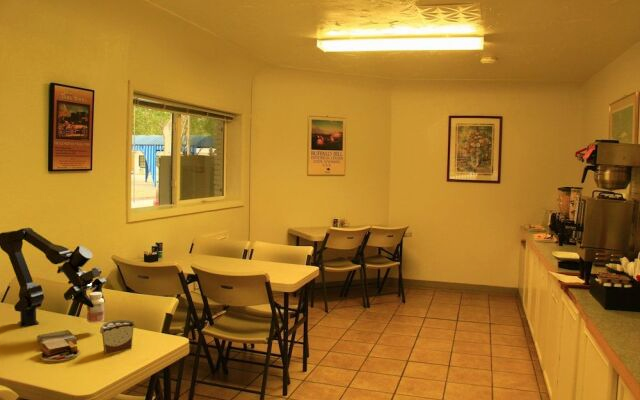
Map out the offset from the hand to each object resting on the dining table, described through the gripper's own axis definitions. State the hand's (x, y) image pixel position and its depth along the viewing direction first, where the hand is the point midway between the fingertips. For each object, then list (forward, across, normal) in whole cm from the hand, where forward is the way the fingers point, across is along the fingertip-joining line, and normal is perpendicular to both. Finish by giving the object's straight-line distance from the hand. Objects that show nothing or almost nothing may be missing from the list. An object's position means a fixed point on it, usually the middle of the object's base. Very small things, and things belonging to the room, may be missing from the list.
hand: (98, 304), depth 205 cm
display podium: (+3, -14, +13) cm, 20 cm away
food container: (+20, -14, -4) cm, 25 cm away
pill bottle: (+4, 0, +6) cm, 7 cm away
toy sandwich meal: (+10, -25, +6) cm, 28 cm away
